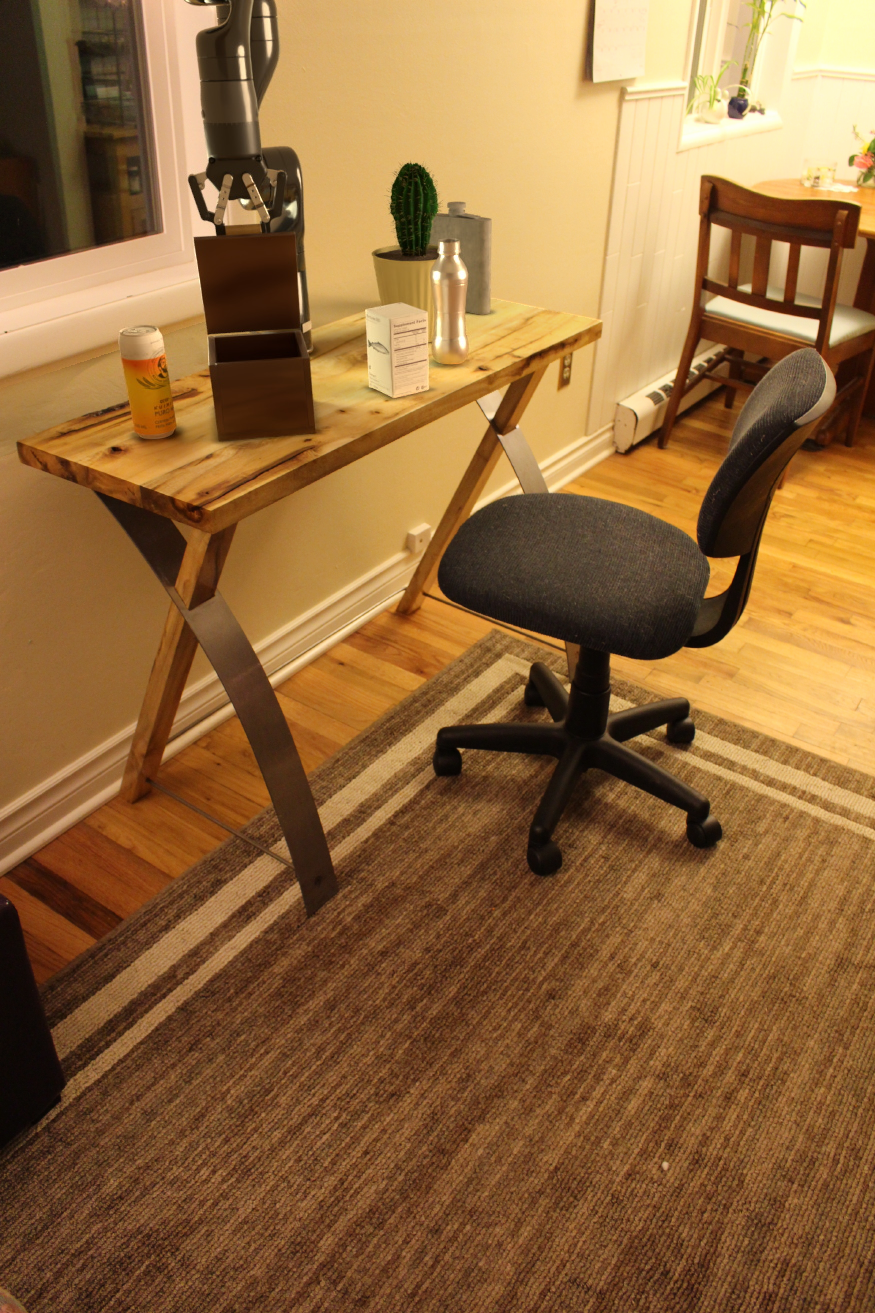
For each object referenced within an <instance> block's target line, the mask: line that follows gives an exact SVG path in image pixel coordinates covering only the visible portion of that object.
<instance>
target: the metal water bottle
mask: <svg viewBox="0 0 875 1313" xmlns="http://www.w3.org/2000/svg"><path fill="white" fill-rule="evenodd" d="M437 252H438V253H439V257H438V258H437V260H436V261H435V263H434V265H433V266H432V268H431V272H430V280H431V287H432V293H433V302H434V332H433V334H434V335H433V338H432V342H431V348H430V349H431V354H432V358H433V359H434V361H435V362H436V363H439V364H442V365H459V364H462V363H464V362H465V361H466V360H467V359H468V356H469V351H470V346H469V337H468V333H467V324H466V323H467V322H466V321H467V320H466V312H465V304H466V292H467V284H468V271H467V268H466V266H465V264H464V263H463V261H462V260H461V258H460V257H459V253H460V252H461V249H460V240H458V239H451V238H448V239H440V240H438V249H437Z"/></svg>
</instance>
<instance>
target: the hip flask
mask: <svg viewBox="0 0 875 1313" xmlns="http://www.w3.org/2000/svg"><path fill="white" fill-rule="evenodd" d="M466 203H467V202H464V201H449V202H447V204H446V208H448V212H447V213H445V212H444V213H443V212H437V216H438V215H439V216H440V217H439V216H438V217H436V216H435V217H434V219H433V220H432V221H433V222H432V225H433V226H434V227H431V231H432V232H431V237H430V238H431V239H430V243H429V244H431V245H438V240H440V239H448V238H451V239H458V240H460V249H461V252H460V253H459V257H460V258H461V260H462V261H463V263H464V264H465V266H466V268H467V271H468V284H467V292H466V304H465V313H470V314H474V315H481V316H483V315H489V314H491V301H492V300H491V298H492V297H491V296H492V295H491V294H492V292H491V290H492V218H490V217H486V216H485V217H484V216H481V215H478V214H474V213H473V214H472V213H467V212H466V209H465V208H466V206H467V204H466ZM434 221H435V222H434ZM432 229H435V230H432Z"/></svg>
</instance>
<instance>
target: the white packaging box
mask: <svg viewBox="0 0 875 1313" xmlns="http://www.w3.org/2000/svg"><path fill="white" fill-rule="evenodd" d="M364 311H365V312H364V313H365V332H366V354H367V355H366V356H367V372H368V376H367V377H368V387H369V388H371V389H374V390H375V391H378V392H381V393H382V394H384V395H386V396H389V397H390V398H391V399H396V398H401V397H406V396H409V395H414V394H418V393H422V392H425V391H428V390H430V379H429V378H430V376H429V375H430V373H429V370H430V368H429V342H428V312H427V311H424V310H421V309H418V308H415V307H413V306H410V305H407V304H404V303H394V304H389V305H384V306H381V305H379V306H375V307H370V308H369V307H368V308H366V309H364Z"/></svg>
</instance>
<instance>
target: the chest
mask: <svg viewBox="0 0 875 1313" xmlns="http://www.w3.org/2000/svg"><path fill="white" fill-rule="evenodd" d="M207 358H208V359H207V360H208V370H209V378H210V385H211V394H212V401H213V407H214V408H213V409H214V415H215V422H216V430H217V437H218V442H225V441H237V440H238V441H239V440H248V439H262V438H263V439H264V438H273V437H274V438H275V437H284V436H285V437H286V436H296V435H308V434H317V429H316V416H315V406H314V405H315V404H314V394H313V393H314V392H313V382H312V380H313V379H312V369H311V359H310V358H311V357H310V354H308V351H307V348H306V345H305V342H304V339H303V336H302V333H301V330H295V331H279V332H264V333H250V332H249V333H234V334H220V335H209V336H207Z"/></svg>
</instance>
